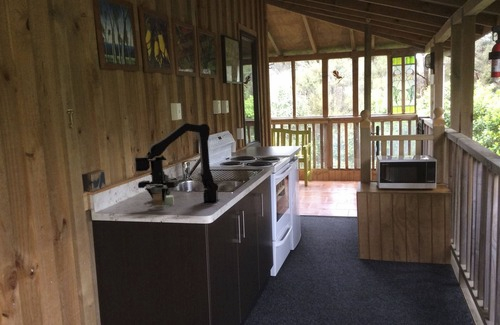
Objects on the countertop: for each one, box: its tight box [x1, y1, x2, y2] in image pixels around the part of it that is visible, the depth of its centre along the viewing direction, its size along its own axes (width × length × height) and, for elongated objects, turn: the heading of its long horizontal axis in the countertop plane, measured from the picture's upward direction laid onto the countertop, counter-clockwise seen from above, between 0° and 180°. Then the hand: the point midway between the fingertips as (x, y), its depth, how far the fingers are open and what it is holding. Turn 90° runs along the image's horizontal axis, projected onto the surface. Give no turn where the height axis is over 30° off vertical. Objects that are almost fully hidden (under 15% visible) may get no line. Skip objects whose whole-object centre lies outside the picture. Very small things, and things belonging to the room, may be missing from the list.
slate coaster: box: [148, 204, 171, 211], centre depth 220 cm, size 8×8×1 cm
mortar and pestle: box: [155, 176, 172, 196], centre depth 239 cm, size 11×9×12 cm
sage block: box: [162, 194, 175, 206], centre depth 228 cm, size 5×5×4 cm
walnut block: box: [152, 193, 166, 206], centre depth 219 cm, size 4×4×5 cm
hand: (159, 201), depth 219 cm, fingers closed on walnut block, 4 cm apart
